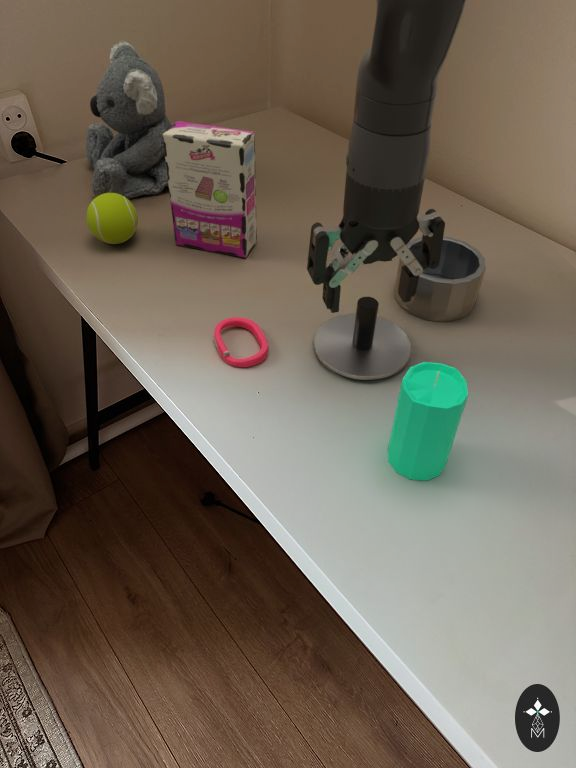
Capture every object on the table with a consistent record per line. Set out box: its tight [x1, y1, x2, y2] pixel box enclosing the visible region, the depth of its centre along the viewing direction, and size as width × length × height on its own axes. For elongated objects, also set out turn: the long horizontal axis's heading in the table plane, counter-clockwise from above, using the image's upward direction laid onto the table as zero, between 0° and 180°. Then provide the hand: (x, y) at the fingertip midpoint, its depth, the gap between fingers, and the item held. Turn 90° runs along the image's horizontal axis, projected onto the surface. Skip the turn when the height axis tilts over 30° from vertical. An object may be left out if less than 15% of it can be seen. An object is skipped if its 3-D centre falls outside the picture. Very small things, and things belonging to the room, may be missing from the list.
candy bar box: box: [163, 120, 258, 258], centre depth 87 cm, size 11×5×16 cm, turn 73°
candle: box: [387, 361, 469, 482], centre depth 61 cm, size 6×6×12 cm
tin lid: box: [313, 296, 412, 381], centre depth 74 cm, size 12×12×7 cm
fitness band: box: [212, 316, 269, 368], centre depth 76 cm, size 8×6×2 cm
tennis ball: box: [86, 193, 139, 245], centre depth 90 cm, size 7×7×7 cm
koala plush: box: [85, 39, 174, 200], centre depth 100 cm, size 17×18×20 cm
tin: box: [393, 236, 487, 322], centre depth 82 cm, size 11×11×6 cm
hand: (368, 303), depth 72 cm, fingers open, 8 cm apart
